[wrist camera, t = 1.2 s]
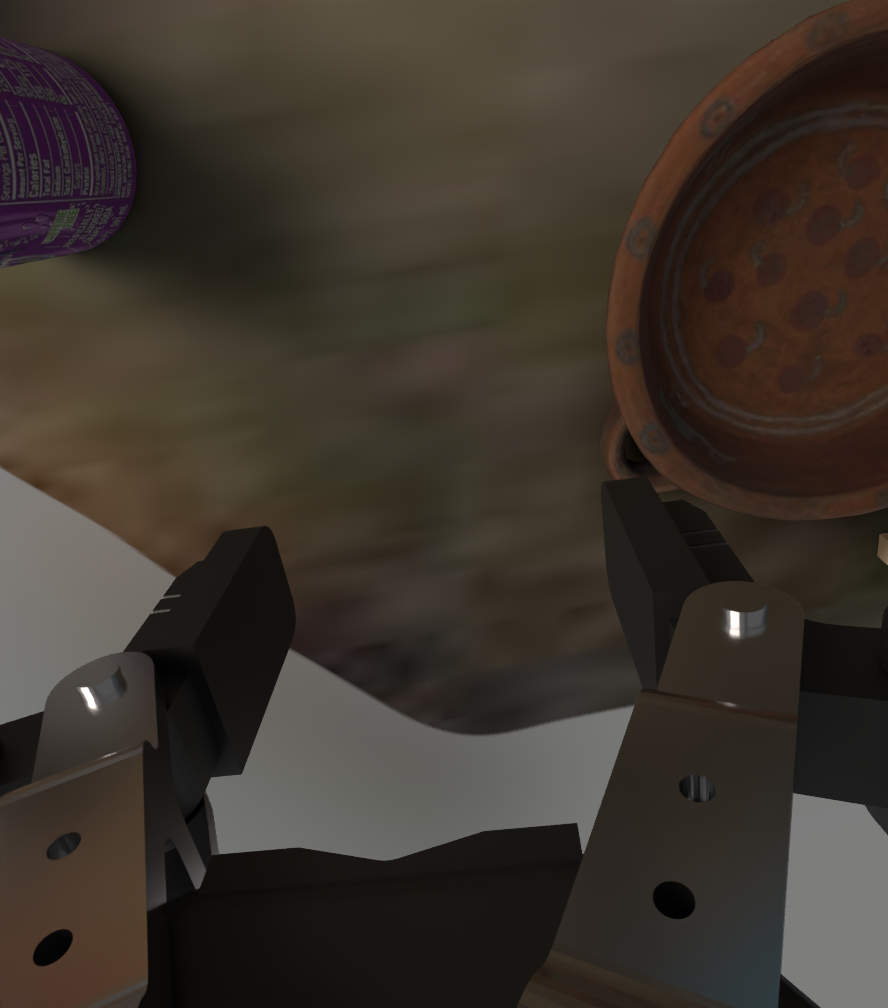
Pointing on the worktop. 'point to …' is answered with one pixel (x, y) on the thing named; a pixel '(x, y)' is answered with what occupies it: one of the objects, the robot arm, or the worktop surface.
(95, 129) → the beverage can
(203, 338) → the worktop surface
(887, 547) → the rack
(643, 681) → the robot arm
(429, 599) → the worktop surface
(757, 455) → the dish
